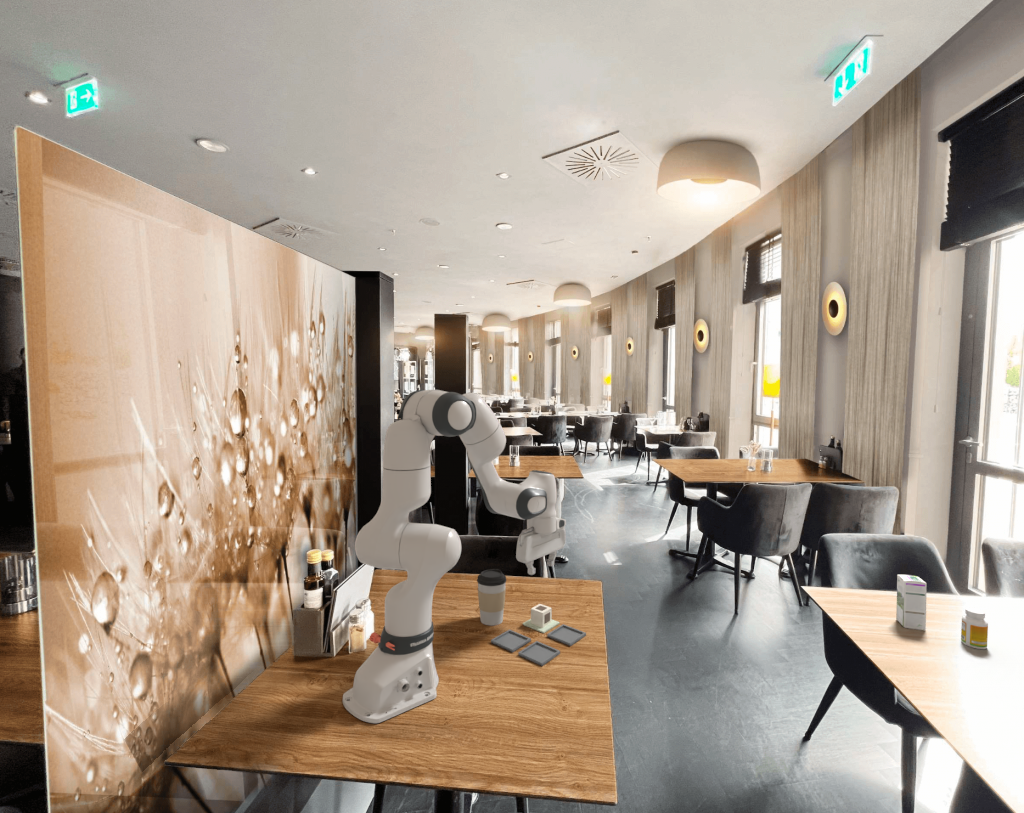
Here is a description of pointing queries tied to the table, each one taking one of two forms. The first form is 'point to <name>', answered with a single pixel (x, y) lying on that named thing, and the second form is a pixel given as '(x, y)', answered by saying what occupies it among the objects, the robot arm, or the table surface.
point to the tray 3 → (566, 635)
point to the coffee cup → (491, 596)
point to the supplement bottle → (974, 629)
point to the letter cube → (541, 615)
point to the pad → (543, 630)
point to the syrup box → (911, 602)
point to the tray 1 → (511, 640)
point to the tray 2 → (539, 653)
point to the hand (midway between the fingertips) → (541, 569)
